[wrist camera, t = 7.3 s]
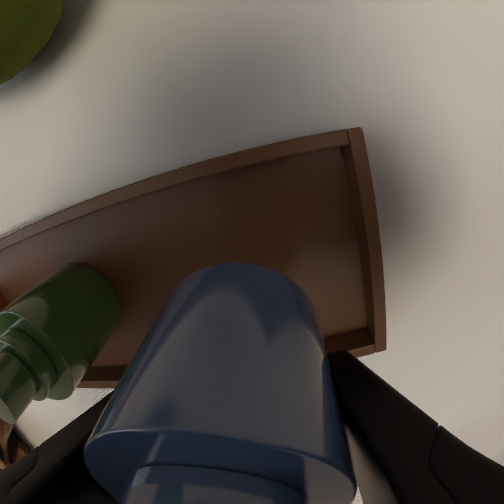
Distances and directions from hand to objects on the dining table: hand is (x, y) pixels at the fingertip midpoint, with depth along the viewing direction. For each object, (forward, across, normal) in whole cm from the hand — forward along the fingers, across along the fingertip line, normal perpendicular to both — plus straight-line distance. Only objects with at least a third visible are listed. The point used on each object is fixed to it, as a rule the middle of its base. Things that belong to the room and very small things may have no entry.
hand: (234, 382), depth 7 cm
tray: (+8, +8, 0) cm, 12 cm away
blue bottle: (+2, 0, 0) cm, 2 cm away
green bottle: (+7, +10, 0) cm, 12 cm away
